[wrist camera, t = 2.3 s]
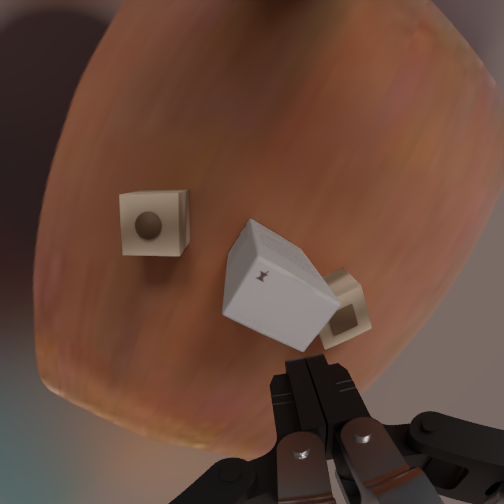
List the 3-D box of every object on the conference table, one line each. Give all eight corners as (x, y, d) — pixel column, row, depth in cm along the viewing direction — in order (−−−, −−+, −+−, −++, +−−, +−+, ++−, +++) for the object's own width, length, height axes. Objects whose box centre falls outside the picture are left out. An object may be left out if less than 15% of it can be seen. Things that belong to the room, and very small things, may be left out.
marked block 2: (298, 286, 28) (310, 310, 23) (342, 267, 28) (362, 286, 23) (313, 324, 30) (325, 351, 25) (354, 305, 29) (372, 329, 24)
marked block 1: (139, 190, 25) (118, 195, 20) (189, 189, 25) (177, 193, 20) (141, 240, 26) (121, 255, 21) (190, 241, 27) (179, 257, 22)
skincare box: (226, 254, 27) (217, 314, 16) (249, 216, 26) (257, 251, 15) (279, 284, 28) (303, 355, 17) (303, 249, 27) (345, 302, 16)
